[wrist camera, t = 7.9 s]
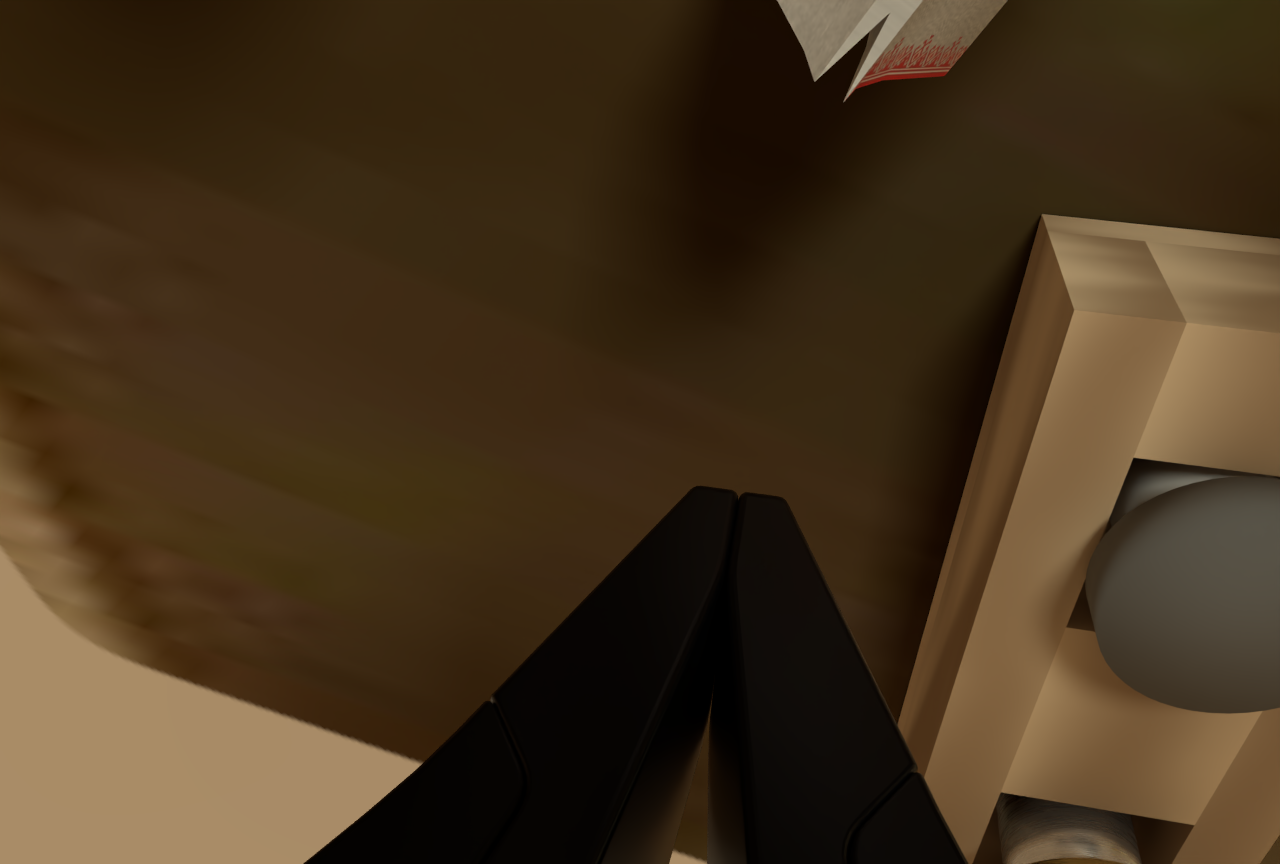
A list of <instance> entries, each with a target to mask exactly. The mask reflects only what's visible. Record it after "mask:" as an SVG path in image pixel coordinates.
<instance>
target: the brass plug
mask: <svg viewBox="0 0 1280 864" xmlns="http://www.w3.org/2000/svg"><path fill="white" fill-rule="evenodd" d="M996 809H997V818H998V827H999V835H1000V844H1001V852H1002V861H1003V864H1142V862H1141V858H1140V854H1139V850H1138V845H1137V841H1136V837H1135V833H1134V828H1133V824H1132V820H1131V816H1130V814H1126V813H1120V812H1114V811H1108V810H1102V809H1096V808H1091V807H1085V806H1079V805H1073V804H1067V803H1061V802H1055V801H1049V800H1044V799H1038V798H1032V797H1026V796H1020V795H1014V794H1008V793H1002V792H1001V793H1000V795H999V798H998V800H997V805H996Z"/></svg>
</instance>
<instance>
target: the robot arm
mask: <svg viewBox="0 0 1280 864" xmlns="http://www.w3.org/2000/svg"><path fill="white" fill-rule="evenodd" d="M713 687H714V689H713ZM712 694H713V698H712ZM711 701H712V707H711V716H710V726H709V752H708V845H707V864H969V863H968V861H967V860H966V858H965V856H964V854H963V852H962V850H961V848H960V847H959V845H958V843H957V841H956V839H955V837H954V835H953V834H952V832H951V830H950V828H949V826H948V824H947V822H946V820H945V819H944V817H943V815H942V813H941V811H940V809H939V807H938V805H937V803H936V801H935V799H934V797H933V795H932V793H931V791H930V789H929V787H928V785H927V783H926V781H925V779H924V777H923V775H922V774H921V773H919V772H917V771H918V766H917V763H916V761H915V759H914V757H913V755H912V753H911V751H910V749H909V747H908V745H907V743H906V741H905V739H904V737H903V735H902V733H901V731H900V729H899V727H898V725H897V723H896V721H895V719H894V717H893V715H892V713H891V711H890V709H889V707H888V705H887V703H886V701H885V699H884V697H883V695H882V693H881V691H880V689H879V687H878V685H877V683H876V681H875V679H874V677H873V675H872V673H871V671H870V669H869V666H868V664H867V662H866V660H865V658H864V656H863V654H862V652H861V650H860V648H859V646H858V644H857V642H856V640H855V638H854V636H853V634H852V632H851V630H850V628H849V626H848V624H847V622H846V620H845V618H844V616H843V614H842V612H841V610H840V608H839V606H838V604H837V602H836V600H835V598H834V596H833V594H832V592H831V590H830V588H829V586H828V584H827V582H826V580H825V578H824V576H823V574H822V572H821V570H820V568H819V566H818V563H817V561H816V559H815V557H814V555H813V553H812V551H811V549H810V547H809V545H808V543H807V541H806V539H805V537H804V535H803V533H802V531H801V529H800V527H799V525H798V523H797V521H796V519H795V517H794V515H793V513H792V511H791V509H790V507H789V505H788V503H787V502H786V500H785V499H783V498H782V497H779V496H772V495H764V494H757V493H750V492H745V493H743V494H742V495H741V496H740V497H739V501H738V495H737V493H736V492H735V491H733V490H728V489H721V488H713V487H706V486H696V487H694V488H692V489H691V490H690V491H689V492H688V493H687V494H686V495H685V496H684V497H683V498H682V499H681V500H680V501H679V502H678V503H677V504H676V505H675V506H674V507H673V508H672V509H671V510H670V511H669V512H668V514H667V515H666V516H665V517H664V518H663V519H662V520H661V521H660V522H659V523H658V524H657V525H656V526H655V527H654V528H653V529H652V530H651V531H650V532H649V533H648V534H647V535H646V536H645V537H644V538H643V539H642V540H641V541H640V542H639V543H638V544H637V546H636V547H635V548H634V549H633V550H632V551H631V552H630V553H629V554H628V555H627V556H626V557H625V558H624V559H623V560H622V561H621V562H620V563H619V564H618V565H617V566H616V567H615V568H614V569H613V570H612V571H611V572H610V573H609V574H608V575H607V576H606V578H605V579H604V580H603V581H602V582H601V583H600V584H599V585H598V586H597V587H596V588H595V589H594V590H593V591H592V592H591V593H590V594H589V595H588V596H587V597H586V598H585V599H584V600H583V601H582V602H581V603H580V604H579V605H578V606H577V607H576V608H575V610H574V611H573V612H572V613H571V614H570V615H569V616H568V617H567V618H566V619H565V620H564V621H563V622H562V623H561V624H560V625H559V626H558V627H557V628H556V629H555V630H554V631H553V632H552V633H551V634H550V635H549V636H548V637H547V638H546V639H545V640H544V642H543V643H542V644H541V645H540V646H539V647H538V648H537V649H536V650H535V651H534V652H533V653H532V654H531V655H530V656H529V657H528V658H527V659H526V660H525V661H524V662H523V663H522V664H521V665H520V666H519V667H518V668H517V669H516V670H515V671H514V672H513V674H512V675H511V676H510V677H509V678H508V679H507V680H506V681H505V682H504V683H503V684H502V685H501V686H500V687H499V688H498V689H497V690H496V691H495V692H494V693H493V694H492V695H491V701H485V702H484V703H483V704H482V705H481V706H480V707H479V708H478V709H477V710H476V711H475V712H474V713H473V714H472V715H471V716H470V717H469V718H468V719H467V721H466V722H465V723H464V724H463V725H462V726H461V727H460V728H459V729H458V730H457V731H456V732H455V733H454V734H453V735H452V736H451V737H450V738H449V739H448V740H447V741H446V742H444V743H443V744H442V745H441V746H440V747H439V748H438V749H437V750H436V751H435V752H434V753H433V754H432V755H431V756H430V757H429V758H428V759H427V760H426V761H425V762H424V763H423V764H422V765H421V766H420V767H419V768H418V769H417V770H415V771H414V772H413V773H412V774H411V775H410V776H408V777H407V778H406V779H405V780H404V781H403V782H401V783H400V784H399V785H398V786H397V787H396V788H394V789H393V790H392V791H391V792H390V793H389V794H387V795H386V796H385V797H384V798H383V799H382V800H380V801H379V802H378V803H377V804H376V805H374V806H373V807H372V808H371V809H370V810H369V811H368V812H366V813H365V814H364V815H363V816H361V817H360V818H359V819H358V820H357V821H355V822H354V823H353V824H352V825H350V826H349V827H348V828H347V829H346V830H344V831H343V832H342V833H341V834H339V835H338V836H337V837H336V838H334V839H333V840H332V841H331V842H329V844H327V845H326V846H325V847H323V848H322V849H321V850H320V851H318V852H317V853H316V854H315V855H314V856H312V857H311V858H310V859H309V860H307V861H306V862H305V863H304V864H669V862H670V858H671V855H672V851H673V847H674V844H675V840H676V837H677V833H678V830H679V826H680V823H681V819H682V815H683V812H684V808H685V805H686V801H687V798H688V794H689V790H690V787H691V783H692V780H693V776H694V773H695V769H696V766H697V762H698V758H699V755H700V751H701V748H702V744H703V740H704V736H705V732H706V728H707V723H708V718H709V712H710V706H711Z"/></svg>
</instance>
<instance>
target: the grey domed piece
mask: <svg viewBox="0 0 1280 864" xmlns="http://www.w3.org/2000/svg"><path fill="white" fill-rule="evenodd" d="M1109 520H1110V523H1111V529H1110V530H1109V531H1108V532H1107V533H1106V534H1105V535H1104V536H1103V538H1102V539H1101V541H1100V542H1099V544H1098V545H1097V546H1096V548H1095V550H1094V552H1093V554H1092V556H1091V558H1090V561H1089V565H1088V568H1087V572H1086V581H1085V586H1086V596H1087V600H1088V604H1089V608H1090V613H1091V617H1092V621H1093V625H1094V629H1095V633H1096V637H1097V641H1098V645H1099V648H1100V651H1101V653H1102V655H1103V657H1104V659H1105V661H1106V663H1107V664H1108V666H1109V667H1110V668H1111V670H1112V671H1113V672H1114V673H1115V674H1116V675H1117V676H1118V677H1119V678H1120V679H1121V680H1122V681H1123V682H1124V683H1126V684H1127V685H1128V686H1130V687H1131V688H1132V689H1134V690H1135V691H1137V692H1139V693H1141V694H1143V695H1144V696H1146V697H1148V698H1151V699H1153V700H1156V701H1158V702H1160V703H1163V704H1167V705H1170V706H1173V707H1177V708H1181V709H1186V710H1191V711H1198V712H1206V713H1225V714H1232V713H1250V712H1258V711H1266V710H1271V709H1276V708H1280V479H1278V477H1277V476H1272V475H1264V474H1257V473H1249V472H1241V471H1234V470H1226V469H1218V468H1210V467H1203V466H1195V465H1187V464H1180V463H1172V462H1164V461H1156V460H1149V459H1141V458H1133V460H1132V462H1131V465H1130V468H1129V470H1128V473H1127V475H1126V478H1125V480H1124V483H1123V485H1122V488H1121V490H1120V493H1119V495H1118V498H1117V500H1116V503H1115V505H1114V508H1113V510H1112V513H1111V515H1110V518H1109Z"/></svg>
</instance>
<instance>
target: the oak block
mask: <svg viewBox="0 0 1280 864" xmlns="http://www.w3.org/2000/svg"><path fill="white" fill-rule="evenodd" d="M1133 458H1141V459H1149V460H1156V461H1164V462H1172V463H1180V464H1187V465H1195V466H1203V467H1210V468H1218V469H1226V470H1234V471H1241V472H1249V473H1257V474H1264V475H1272V476H1277V477H1278V479H1280V239H1277V238H1267V237H1258V236H1248V235H1238V234H1229V233H1219V232H1209V231H1200V230H1190V229H1180V228H1171V227H1161V226H1151V225H1142V224H1132V223H1122V222H1113V221H1103V220H1093V219H1084V218H1074V217H1064V216H1055V215H1045V214H1042V215H1041V219H1040V222H1039V226H1038V230H1037V233H1036V237H1035V240H1034V244H1033V247H1032V251H1031V254H1030V258H1029V261H1028V265H1027V268H1026V272H1025V276H1024V279H1023V283H1022V286H1021V290H1020V293H1019V297H1018V300H1017V304H1016V307H1015V311H1014V314H1013V318H1012V322H1011V325H1010V329H1009V332H1008V336H1007V339H1006V343H1005V346H1004V350H1003V353H1002V357H1001V360H1000V364H999V367H998V371H997V375H996V378H995V382H994V385H993V389H992V392H991V396H990V399H989V403H988V406H987V410H986V413H985V417H984V421H983V424H982V428H981V431H980V435H979V438H978V442H977V445H976V449H975V452H974V456H973V459H972V463H971V467H970V470H969V474H968V477H967V481H966V484H965V488H964V491H963V495H962V498H961V502H960V505H959V509H958V512H957V516H956V520H955V523H954V527H953V530H952V534H951V537H950V541H949V544H948V548H947V551H946V555H945V558H944V562H943V566H942V569H941V573H940V576H939V580H938V583H937V587H936V590H935V594H934V597H933V601H932V604H931V608H930V612H929V615H928V619H927V622H926V626H925V629H924V633H923V636H922V640H921V643H920V647H919V650H918V654H917V658H916V661H915V665H914V668H913V672H912V675H911V679H910V682H909V686H908V689H907V693H906V696H905V700H904V703H903V707H902V711H901V714H900V718H899V721H898V727H899V729H900V731H901V733H902V735H903V737H904V739H905V741H906V743H907V745H908V747H909V749H910V751H911V753H912V755H913V757H914V759H915V761H916V763H917V766H918V771H917V772H919V773H921V774H922V775H923V777H924V779H925V781H926V783H927V785H928V787H929V789H930V791H931V793H932V795H933V797H934V799H935V801H936V803H937V805H938V807H939V809H940V811H941V813H942V815H943V817H944V819H945V820H946V822H947V824H948V826H949V828H950V830H951V832H952V834H953V835H954V837H955V839H956V841H957V843H958V845H959V847H960V848H961V850H962V852H963V854H964V856H965V858H966V860H967V861H968V863H969V864H1003V861H1002V852H1001V844H1000V835H999V827H998V818H997V809H996V805H997V800H998V798H999V795H1000V793H1001V792H1002V793H1008V794H1014V795H1020V796H1026V797H1032V798H1038V799H1044V800H1049V801H1055V802H1061V803H1067V804H1073V805H1079V806H1085V807H1091V808H1096V809H1102V810H1108V811H1114V812H1120V813H1126V814H1130V816H1131V820H1132V824H1133V828H1134V833H1135V837H1136V841H1137V845H1138V850H1139V854H1140V858H1141V862H1142V864H1260V863H1261V861H1262V860H1263V858H1264V857H1265V855H1266V854H1267V852H1268V851H1269V850H1270V848H1271V847H1272V845H1273V844H1274V842H1275V841H1276V839H1277V838H1278V836H1279V835H1280V708H1276V709H1271V710H1266V711H1258V712H1250V713H1232V714H1225V713H1206V712H1198V711H1191V710H1186V709H1181V708H1177V707H1173V706H1170V705H1167V704H1163V703H1160V702H1158V701H1156V700H1153V699H1151V698H1148V697H1146V696H1144V695H1143V694H1141V693H1139V692H1137V691H1135V690H1134V689H1132V688H1131V687H1130V686H1128V685H1127V684H1126V683H1124V682H1123V681H1122V680H1121V679H1120V678H1119V677H1118V676H1117V675H1116V674H1115V673H1114V672H1113V671H1112V670H1111V668H1110V667H1109V666H1108V664H1107V663H1106V661H1105V659H1104V657H1103V655H1102V653H1101V651H1100V648H1099V645H1098V641H1097V637H1096V633H1095V629H1094V625H1093V621H1092V617H1091V613H1090V608H1089V604H1088V600H1087V596H1086V586H1085V581H1086V572H1087V568H1088V565H1089V561H1090V558H1091V556H1092V554H1093V552H1094V550H1095V548H1096V546H1097V545H1098V544H1099V542H1100V541H1101V539H1102V538H1103V536H1104V535H1105V534H1106V533H1107V532H1108V531H1109V530H1110V529H1111V523H1110V520H1109V518H1110V515H1111V513H1112V510H1113V508H1114V505H1115V503H1116V500H1117V498H1118V495H1119V493H1120V490H1121V488H1122V485H1123V483H1124V480H1125V478H1126V475H1127V473H1128V470H1129V468H1130V465H1131V462H1132V460H1133Z"/></svg>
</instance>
